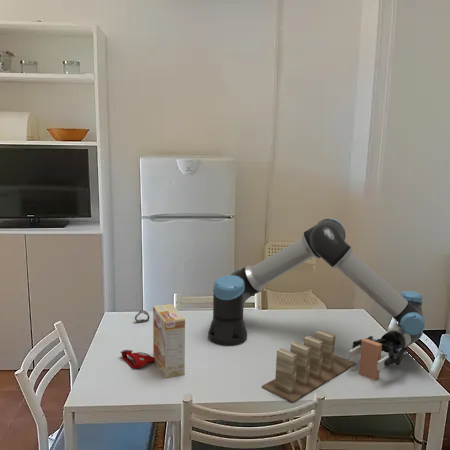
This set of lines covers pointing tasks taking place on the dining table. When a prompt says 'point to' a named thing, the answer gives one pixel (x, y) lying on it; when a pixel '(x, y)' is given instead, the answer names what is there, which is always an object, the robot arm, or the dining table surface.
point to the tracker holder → (137, 358)
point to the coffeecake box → (169, 340)
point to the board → (311, 381)
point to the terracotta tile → (370, 358)
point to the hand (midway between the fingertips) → (363, 360)
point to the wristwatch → (139, 314)
